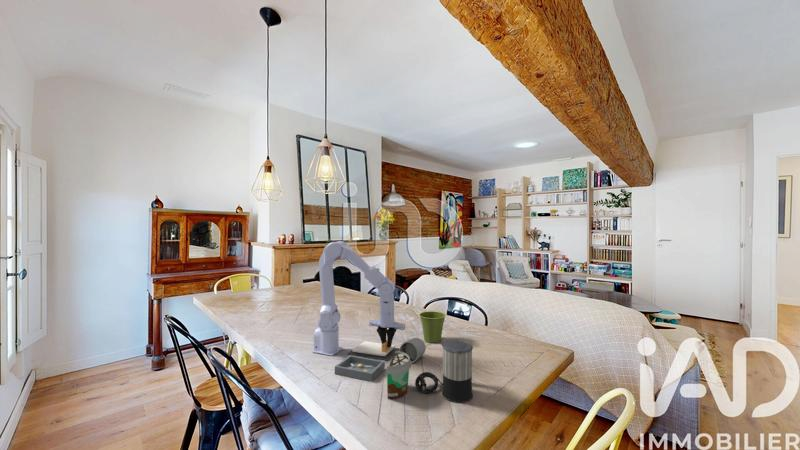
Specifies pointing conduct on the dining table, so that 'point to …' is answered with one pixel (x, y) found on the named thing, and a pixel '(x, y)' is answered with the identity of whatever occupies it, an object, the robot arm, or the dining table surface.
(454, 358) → the milk frother
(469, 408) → the dining table surface
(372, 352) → the lid
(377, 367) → the dark grey tray
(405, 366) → the food container
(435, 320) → the plant pot
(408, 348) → the ceramic mug
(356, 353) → the mat
